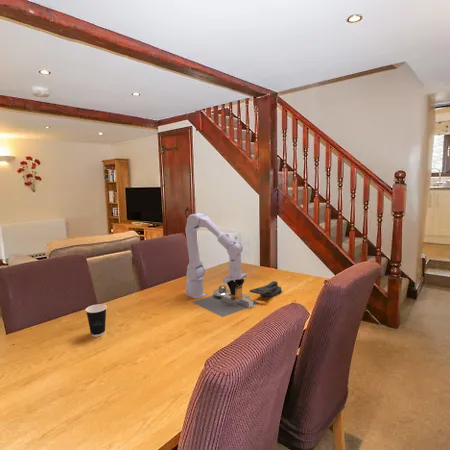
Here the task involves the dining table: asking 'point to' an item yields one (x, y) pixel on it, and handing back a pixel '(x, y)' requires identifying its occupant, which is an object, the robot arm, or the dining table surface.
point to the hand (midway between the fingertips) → (235, 293)
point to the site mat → (219, 306)
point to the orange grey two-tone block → (238, 291)
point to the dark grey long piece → (268, 290)
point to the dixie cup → (96, 319)
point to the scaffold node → (228, 299)
